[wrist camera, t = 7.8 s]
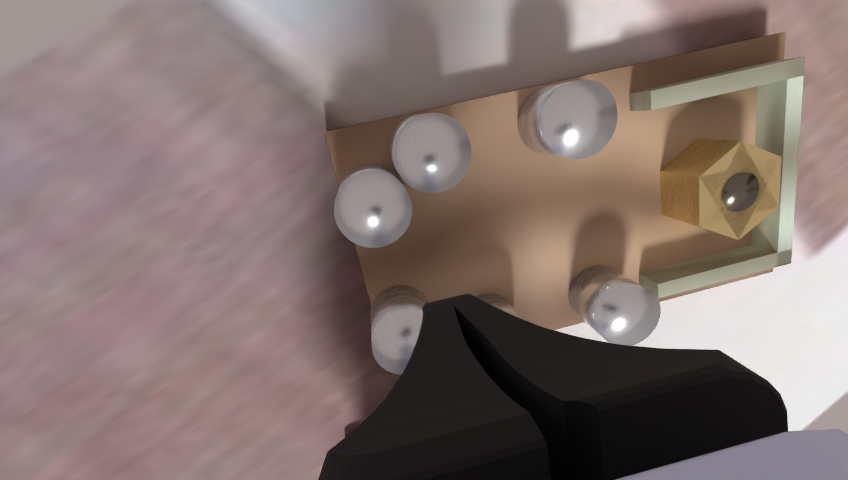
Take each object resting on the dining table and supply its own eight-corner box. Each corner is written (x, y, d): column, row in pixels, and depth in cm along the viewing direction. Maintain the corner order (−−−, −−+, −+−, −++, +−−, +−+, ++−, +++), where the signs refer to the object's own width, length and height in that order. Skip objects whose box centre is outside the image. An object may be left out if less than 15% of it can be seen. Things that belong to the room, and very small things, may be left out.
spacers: (623, 309, 22) (661, 337, 19) (385, 373, 21) (389, 412, 18) (607, 72, 19) (651, 63, 16) (320, 135, 18) (312, 138, 15)
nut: (750, 182, 21) (800, 189, 19) (679, 241, 22) (720, 256, 19) (715, 122, 20) (763, 122, 18) (641, 186, 21) (679, 195, 18)
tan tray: (753, 264, 24) (799, 281, 22) (388, 361, 22) (391, 391, 20) (761, 36, 21) (818, 24, 18) (326, 131, 19) (320, 132, 16)
